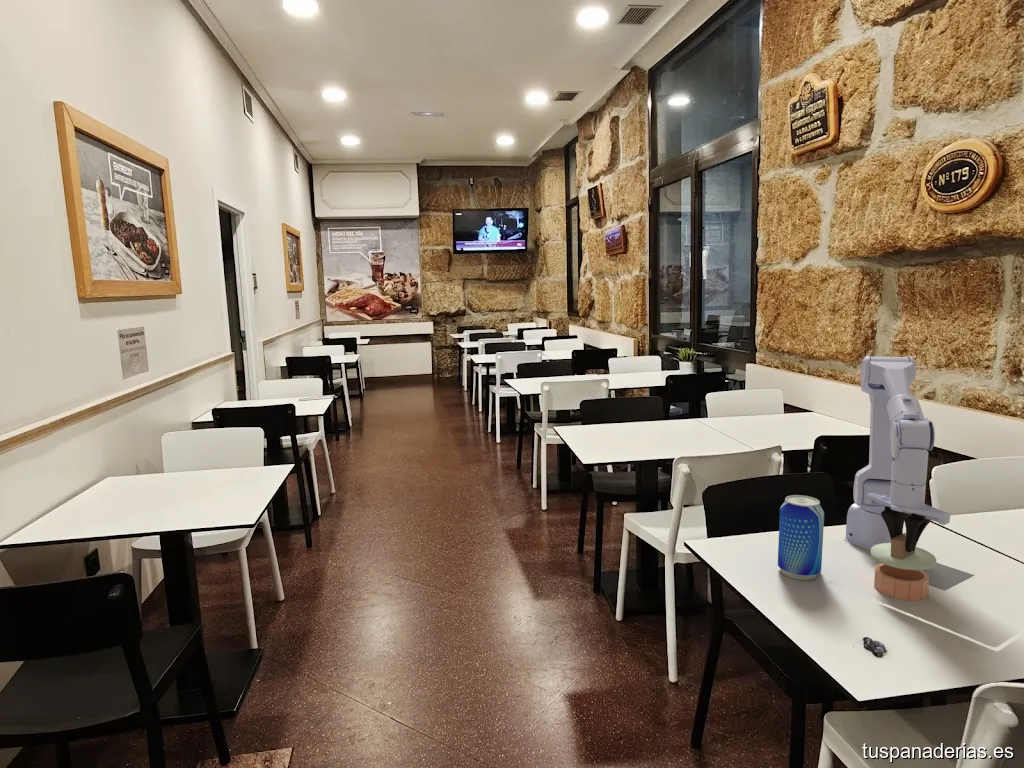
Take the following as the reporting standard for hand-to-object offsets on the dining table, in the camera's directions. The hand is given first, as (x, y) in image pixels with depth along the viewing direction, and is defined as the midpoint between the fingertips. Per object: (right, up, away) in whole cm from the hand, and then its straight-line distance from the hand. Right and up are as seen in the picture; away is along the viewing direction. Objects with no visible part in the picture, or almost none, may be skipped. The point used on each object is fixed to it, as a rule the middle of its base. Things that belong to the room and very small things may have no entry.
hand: (903, 548), depth 126 cm
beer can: (-16, -8, +10) cm, 20 cm away
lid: (0, -2, 0) cm, 2 cm away
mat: (+10, -8, +9) cm, 15 cm away
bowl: (0, -9, +1) cm, 9 cm away
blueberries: (-16, -13, -18) cm, 27 cm away
